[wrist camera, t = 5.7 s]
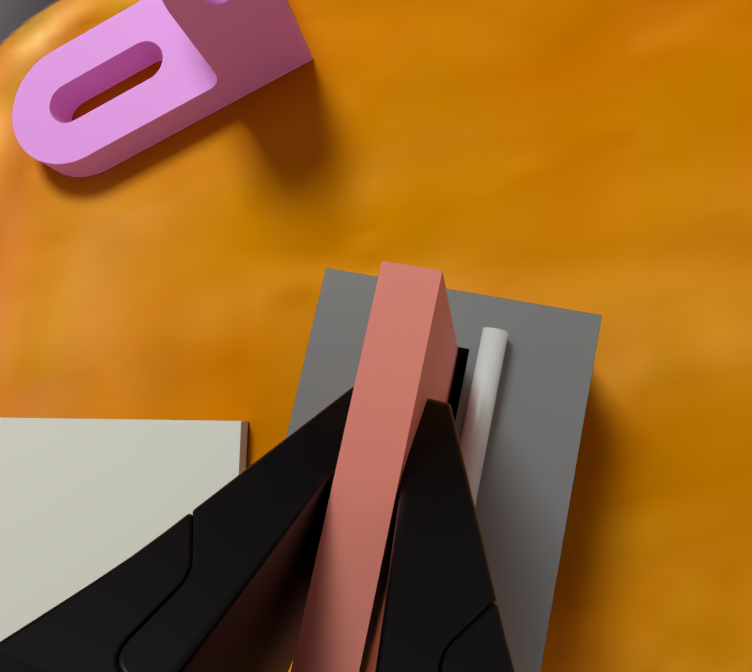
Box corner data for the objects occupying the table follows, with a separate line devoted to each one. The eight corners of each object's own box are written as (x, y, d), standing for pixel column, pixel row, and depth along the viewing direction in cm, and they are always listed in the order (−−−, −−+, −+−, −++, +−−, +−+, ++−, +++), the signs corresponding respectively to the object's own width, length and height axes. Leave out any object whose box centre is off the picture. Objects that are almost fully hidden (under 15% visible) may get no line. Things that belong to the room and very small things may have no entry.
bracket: (268, -37, 23) (181, -228, 16) (314, 61, 22) (242, -100, 15) (25, 100, 24) (-149, -23, 17) (56, 199, 23) (-118, 110, 16)
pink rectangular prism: (417, 556, 15) (337, 771, 6) (390, 548, 15) (274, 746, 6) (458, 352, 15) (442, 270, 6) (432, 346, 15) (382, 260, 7)
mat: (229, 835, 17) (220, 850, 17) (-61, 785, 20) (-77, 796, 19) (248, 421, 20) (241, 421, 19) (-17, 417, 22) (-30, 417, 21)
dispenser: (520, 632, 17) (539, 715, 12) (294, 563, 18) (236, 614, 14) (573, 336, 18) (608, 310, 13) (355, 296, 19) (319, 261, 15)
